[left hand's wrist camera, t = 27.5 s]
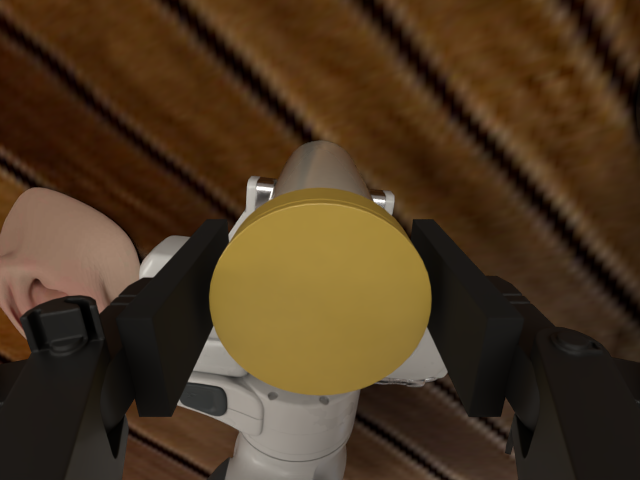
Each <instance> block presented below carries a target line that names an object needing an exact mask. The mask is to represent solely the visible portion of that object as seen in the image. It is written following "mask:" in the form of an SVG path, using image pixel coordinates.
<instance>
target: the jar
mask: <svg viewBox="0 0 640 480" xmlns="http://www.w3.org/2000/svg"><path fill="white" fill-rule="evenodd" d="M306 188H334V189H340V190H345V191H349V192H352V193H355V194H358V195H361V196H363V197H365V198H367V199H369V200H371V201H373V202H374V200H373V198H372V196H371V194H370V192H369V190H368V189H367V187H366V185H365V183H364V181H363V179H362V177H361V175H360V173H359V171H358V169H357V167H356V165H355V163H354V161H353V160H352V158H351V156H350V155H349V154H348V153H347V152H346V151H345V150H344V149H343V148H341V147H340V146H338V145H336V144H334V143H331V142H327V141H313V142H309V143H307V144H304V145H302V146H301V147H299V148H298V149H296V150H295V151H294V152H293V153H292V155H291V156H290V157H289V159H288V161H287V162H286V164H285V166H284V168H283V170H282V172H281V174H280V176H279V178H278V180H277V182H276V184H275V186H274V188H273V190H272V192H271V194H270V195H269V197H268V199H267V201H266V202H268V201H269V200H271V199H274V198H276V197H278V196H280V195H282V194H286V193H289V192H292V191H296V190H301V189H306Z"/></svg>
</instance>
